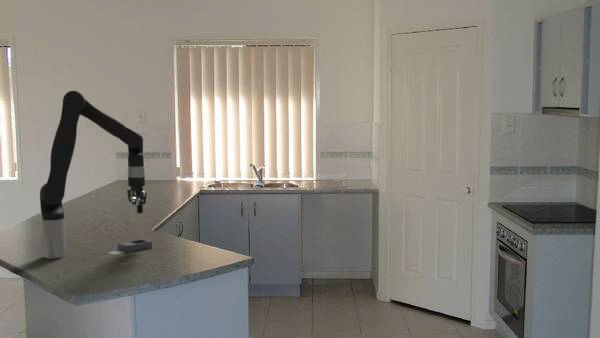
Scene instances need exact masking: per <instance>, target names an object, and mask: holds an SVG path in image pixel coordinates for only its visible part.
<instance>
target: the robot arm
mask: <svg viewBox="0 0 600 338" xmlns="http://www.w3.org/2000/svg"><path fill="white" fill-rule="evenodd" d="M60 114H61V115H60V119H59V123H58V126H57V129H56V131H55V135H54V138H53V142H52V146H51V151H50V168H49V169H50V170H49V175H48V178H47V181H46V183H44V184H43V185H42V186H41V188H40V191H39V202H40V212H41V219H42V235H41V250H42V258H45V259H47V260H50V259H52V260H53V259H54V260H55V259H60V258H61V259H62V258H64V257H66V256H67V247H66V246H67V244H66V243H67V241H66V225H65V224H66V223H65V212H64V209H63V208H64V207H63V199H64V198H65V194H66V193H65V191H66V183H67V177H68V173H69V170H70V166H71V163H72V158H73V155H74V152H75V147H76V142H77V133H78V131H77V129H78V122H79V119H80V116H82V117H84V118H86V119H88V120H89V121H91V122H92V123H94V124H95V125H97V126H99V127H100V128H101V129H103V130H104V131H106V132H107V133H109V134H110V135H112V136H114V137H116V138H117V139H118V140H120V141H121V142H123V143H124V144H125V145H126V146H127V150H128V153H127V154H128V156H127V186H128V187H130V188H129V189H127V190H126V191H127V192H126V193H127V198H128V203H130V204H136V203H137V204H138V213H143V204H144V205H145V204H146V203H147V194H148V193H147V191H144V188H143V187H144V186H145V185H146V177H145V176H146V175H145V166H144V165H145V163H144V138H143V135H142V134H140V133H139V132H137V131H134V130H133V129H131V128H129V127H128V126H127V125H126V124H124V123H123V122H121V120H118V119H117V118H115V117H114V116H111V115H110V114H108V113H107V112H104V111H102V110H101V109H99V108H97V107H96V106H95V105H93V104H92V103H90V101H88V99H86V98H85V96H84V95H83V94H82V93H81V92H80V91H78V90H70V91H68V92H66V93H65V94H64V96H63V98H62V107H61V113H60Z"/></svg>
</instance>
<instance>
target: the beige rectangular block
mask: <svg viewBox="0 0 600 338" xmlns="http://www.w3.org/2000/svg"><path fill="white" fill-rule="evenodd" d="M129 206H130V207H129V209H130V222H133V223H140V222H142V223H143V222H145V221H146V220H145V204H143V213H138V204H137V203H136V204H131V203H130V205H129Z"/></svg>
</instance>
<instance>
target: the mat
mask: <svg viewBox="0 0 600 338" xmlns="http://www.w3.org/2000/svg"><path fill="white" fill-rule="evenodd" d="M106 253H107V254H110V255H113V256H116V255H120V254H125V253H127V252H123V251H120V250H118V249H117V250H112V251H108V252H106Z"/></svg>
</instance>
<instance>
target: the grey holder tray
mask: <svg viewBox="0 0 600 338" xmlns="http://www.w3.org/2000/svg"><path fill="white" fill-rule="evenodd" d="M152 248H153V242H152V240H148V239H145V238H141V239H136V240H130V241H123V242H118V243H117V251H118V250H120V251H123V252H126V253H132V252H133V253H134V252H137V251H143V250H147V249H148V250H149V249H152Z"/></svg>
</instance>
